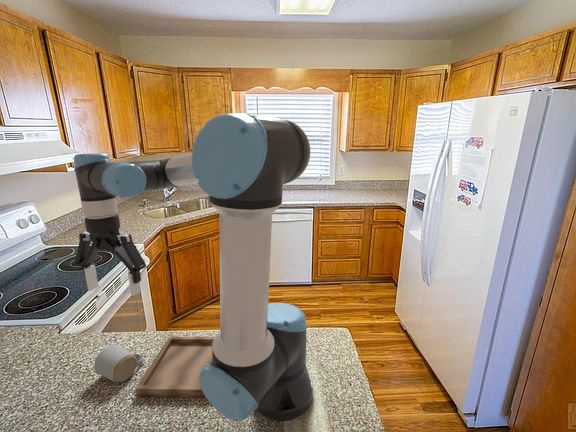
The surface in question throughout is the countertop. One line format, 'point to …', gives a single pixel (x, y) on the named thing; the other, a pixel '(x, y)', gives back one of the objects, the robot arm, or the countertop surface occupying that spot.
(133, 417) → the countertop surface
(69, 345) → the countertop surface
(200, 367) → the walnut tray
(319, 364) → the countertop surface
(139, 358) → the ceramic mug
